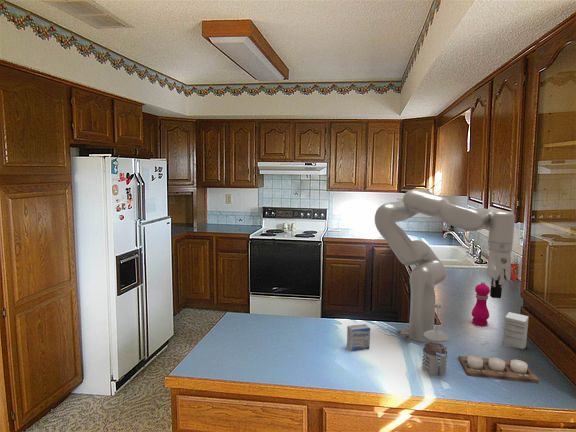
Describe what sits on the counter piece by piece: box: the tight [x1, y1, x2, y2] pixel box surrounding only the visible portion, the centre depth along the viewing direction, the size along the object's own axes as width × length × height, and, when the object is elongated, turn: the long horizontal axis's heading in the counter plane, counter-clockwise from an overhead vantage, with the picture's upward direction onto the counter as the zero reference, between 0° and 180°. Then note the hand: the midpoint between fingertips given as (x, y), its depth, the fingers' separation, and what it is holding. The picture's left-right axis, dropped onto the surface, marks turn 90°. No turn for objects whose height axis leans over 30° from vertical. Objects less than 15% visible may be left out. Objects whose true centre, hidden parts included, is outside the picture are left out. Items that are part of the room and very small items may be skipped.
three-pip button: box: [466, 355, 484, 370], centre depth 140 cm, size 5×5×3 cm
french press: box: [421, 303, 450, 376], centre depth 136 cm, size 10×12×25 cm
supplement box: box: [502, 311, 529, 350], centre depth 159 cm, size 7×7×13 cm
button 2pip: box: [509, 359, 529, 374], centre depth 138 cm, size 5×5×3 cm
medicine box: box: [346, 323, 371, 352], centre depth 157 cm, size 8×4×9 cm, turn 105°
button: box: [487, 357, 505, 372], centre depth 139 cm, size 5×5×3 cm
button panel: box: [458, 355, 539, 384], centre depth 139 cm, size 22×12×3 cm, turn 80°
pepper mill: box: [471, 280, 491, 327], centre depth 181 cm, size 7×7×20 cm
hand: (495, 297), depth 143 cm, fingers closed
